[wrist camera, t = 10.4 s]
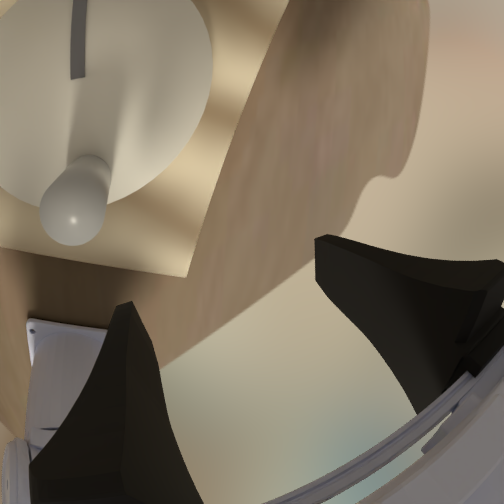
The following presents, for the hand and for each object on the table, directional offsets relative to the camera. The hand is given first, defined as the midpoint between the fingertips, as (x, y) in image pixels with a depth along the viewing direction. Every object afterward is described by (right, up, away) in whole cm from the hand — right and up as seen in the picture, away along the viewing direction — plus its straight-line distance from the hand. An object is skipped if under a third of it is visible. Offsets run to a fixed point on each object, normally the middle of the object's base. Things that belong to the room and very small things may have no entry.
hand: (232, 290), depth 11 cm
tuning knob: (-8, +12, -1) cm, 14 cm away
